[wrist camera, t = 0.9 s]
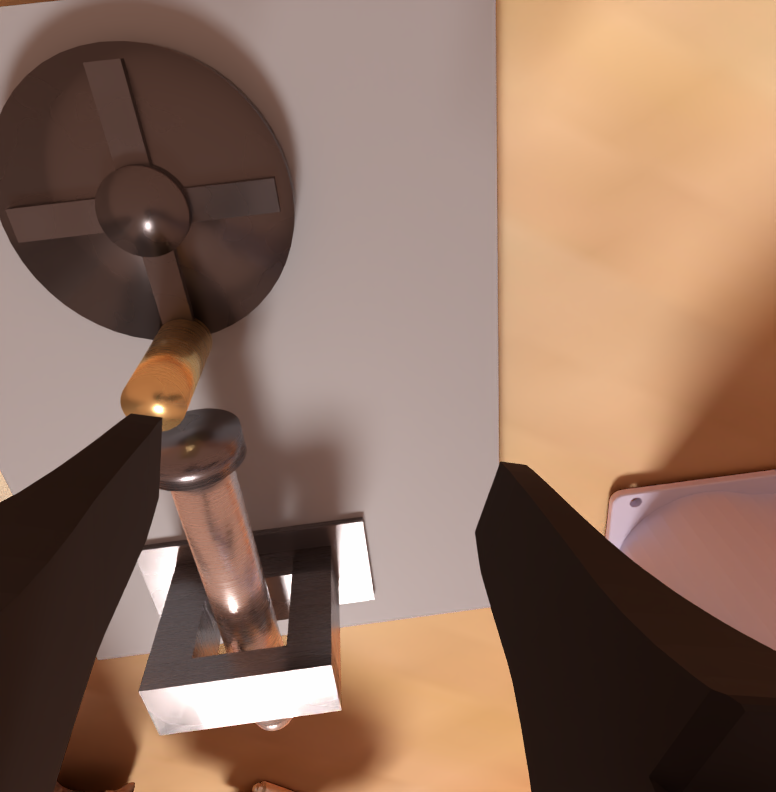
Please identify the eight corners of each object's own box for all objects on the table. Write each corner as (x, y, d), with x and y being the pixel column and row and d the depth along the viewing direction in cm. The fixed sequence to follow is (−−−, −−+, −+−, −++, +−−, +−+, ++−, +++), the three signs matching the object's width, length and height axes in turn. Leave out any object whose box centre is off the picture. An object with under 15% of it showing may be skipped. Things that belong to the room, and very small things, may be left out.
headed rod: (245, 402, 19) (233, 457, 17) (314, 680, 26) (313, 750, 24) (151, 414, 19) (123, 472, 17) (245, 690, 26) (236, 761, 24)
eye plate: (362, 516, 24) (371, 638, 19) (374, 594, 26) (384, 722, 21) (135, 546, 24) (83, 678, 19) (165, 622, 26) (127, 757, 21)
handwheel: (266, 24, 16) (243, 16, 12) (318, 336, 20) (316, 412, 16) (-49, 59, 16) (-187, 63, 11) (74, 367, 20) (6, 451, 16)
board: (484, -42, 17) (495, -48, 16) (493, 585, 29) (499, 606, 27) (-190, 32, 16) (-226, 31, 15) (106, 637, 28) (98, 660, 27)
